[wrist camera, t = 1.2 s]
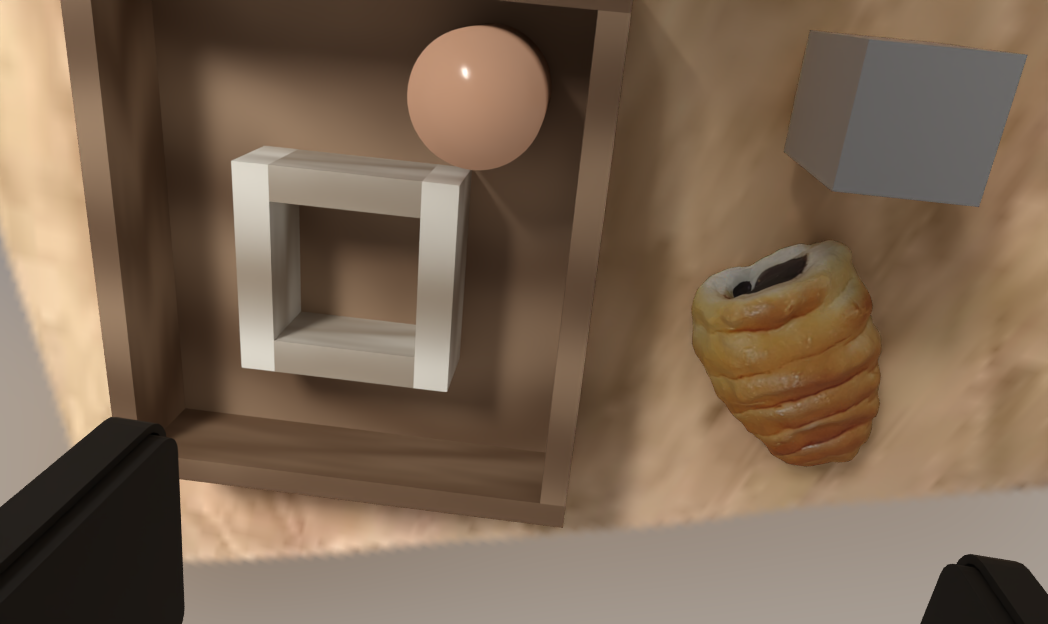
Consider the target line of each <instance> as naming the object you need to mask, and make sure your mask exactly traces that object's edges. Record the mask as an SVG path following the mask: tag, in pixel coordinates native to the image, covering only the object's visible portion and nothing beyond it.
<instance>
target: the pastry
mask: <svg viewBox="0 0 1048 624" xmlns="http://www.w3.org/2000/svg"><path fill="white" fill-rule="evenodd" d="M691 309H692V319H693V335H692V344H693V347H694V350H695V353H696V355H697V356H698V358H699V359H700V361H701V362H702V364H703V365H704V367H705V369H706V372H707V374H708V376H709V377H710V379H711V381H712V384H713V387H714V390H715V392H716V394H717V396H718V397H719V398H720V399H721V400H722V401H723V402H724V403H725V404H726V406H727V407H728V409H729V411H730V412H731V413H732V414H733V416H734V417H736V418H737V419H738V420H739V421H741V422H742V423H743V425H744V426H745V427H746V429H747V430H748V431H749V432H751V433H753V434H754V435H755V436H756V437H757V438H759V439H760V440H761V441H762V442H763V443H764V444H765V445H766V446H767V448H768V449H769V451H770V452H771V454H772V455H774V456H776V457H777V458H779V459H781V460H783V461H785V462H786V463H788V464H793V465H799V466H814V465H820V464H825V463H829V462H847V461H850V460H852V459H853V458H854V457H855V455H856V454H857V453H858V451H859V448H860V447H861V445H862V444H864V443H865V442H866V441H867V439H868V438H869V435H870V433H871V429H872V420H873V418H874V417H876V415H877V413H878V408H879V405H880V402H879V398H878V388H879V384H880V371H879V367H878V357H879V355H880V353H881V336H880V334H879V332H878V330H877V328H876V327H875V325H874V324H873V323H872V318H871V316H870V314H871V312H872V301H871V297H870V295H869V292H868V291H867V289H866V287H865V285H864V284H863V283H862V281H861V280H860V279H859V277H858V275H857V273H856V271H855V268H854V266H853V263H852V252H851V250H850V249H849V248H848V247H847V246H846V245H844V244H843V243H840V242H837V241H833V240H827V241H824V242H821V243H814V244H812V245H805V244H797V245H793V246H789V247H786V248H782V249H779V250H778V251H776V252H775V253H773V254H771V255H769V256H766V257H764V258H762V259H761V260H759V261H757V262H756V263H754V264H753V265H751V266H748V267H733V268H729V269H726V270H724V271H722V272H719V273H717V274H714V275H712V276H710V277H709V278H708V279H707V280H706V281H705V282H704V283H703V284H702V285H701V286H700V287H699V288H698V290H697V292H696V294H695V297H694V300H693V304H692V308H691Z"/></svg>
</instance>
